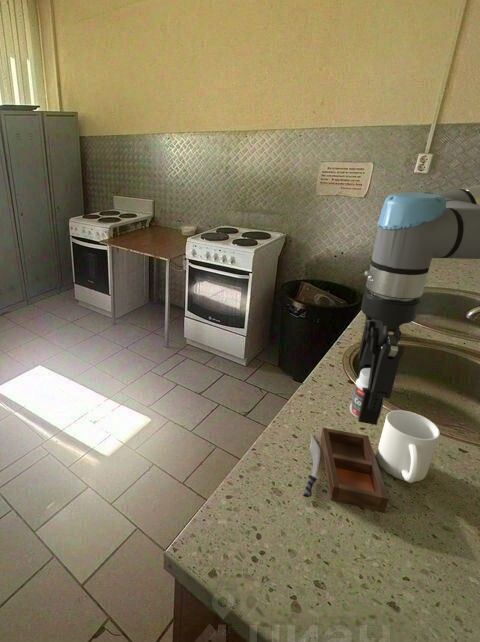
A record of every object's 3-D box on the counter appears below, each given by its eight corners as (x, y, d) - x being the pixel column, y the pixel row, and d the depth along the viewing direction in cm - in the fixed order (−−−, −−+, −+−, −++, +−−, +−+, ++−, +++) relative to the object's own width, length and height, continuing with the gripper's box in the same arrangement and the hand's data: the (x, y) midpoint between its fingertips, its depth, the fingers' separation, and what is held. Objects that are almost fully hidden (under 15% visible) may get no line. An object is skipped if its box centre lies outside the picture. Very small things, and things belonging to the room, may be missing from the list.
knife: (316, 503, 70) (317, 499, 70) (301, 498, 71) (302, 494, 71) (321, 435, 86) (322, 431, 86) (309, 431, 87) (309, 428, 87)
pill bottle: (347, 416, 71) (356, 376, 68) (351, 402, 74) (359, 363, 71) (378, 425, 68) (389, 385, 65) (380, 411, 72) (390, 371, 69)
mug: (435, 505, 69) (451, 460, 66) (379, 489, 73) (392, 445, 69) (421, 458, 79) (434, 416, 76) (373, 446, 83) (383, 405, 79)
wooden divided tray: (365, 448, 82) (368, 435, 81) (385, 513, 68) (389, 499, 67) (320, 439, 85) (322, 427, 84) (330, 500, 71) (333, 486, 70)
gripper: (355, 273, 72) (333, 381, 80) (378, 312, 56) (349, 441, 65) (403, 276, 69) (376, 387, 78) (441, 318, 54) (402, 452, 62)
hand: (364, 412), depth 71 cm, fingers closed on pill bottle, 5 cm apart
